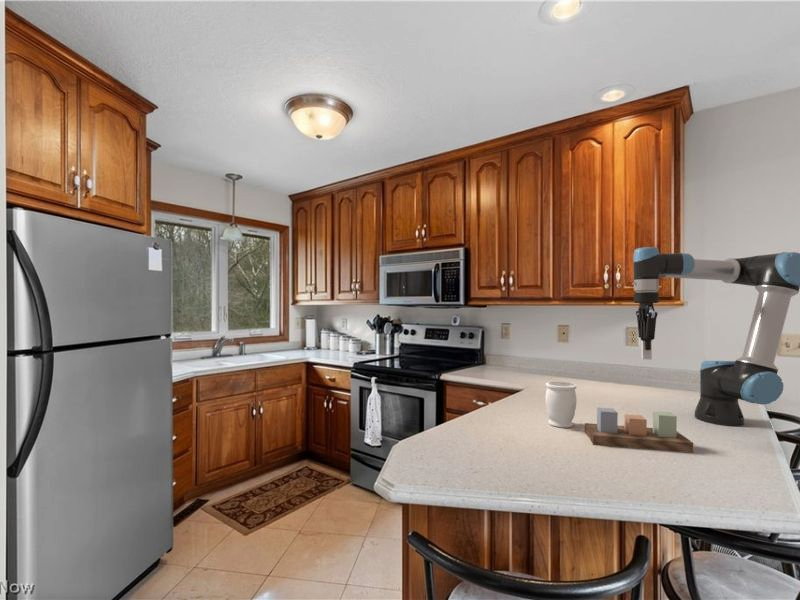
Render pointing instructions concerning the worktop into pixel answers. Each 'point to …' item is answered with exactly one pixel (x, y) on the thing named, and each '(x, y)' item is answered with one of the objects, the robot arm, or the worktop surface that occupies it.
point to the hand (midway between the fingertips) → (646, 359)
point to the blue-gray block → (607, 420)
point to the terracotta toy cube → (635, 425)
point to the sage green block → (664, 424)
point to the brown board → (638, 440)
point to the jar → (561, 403)
